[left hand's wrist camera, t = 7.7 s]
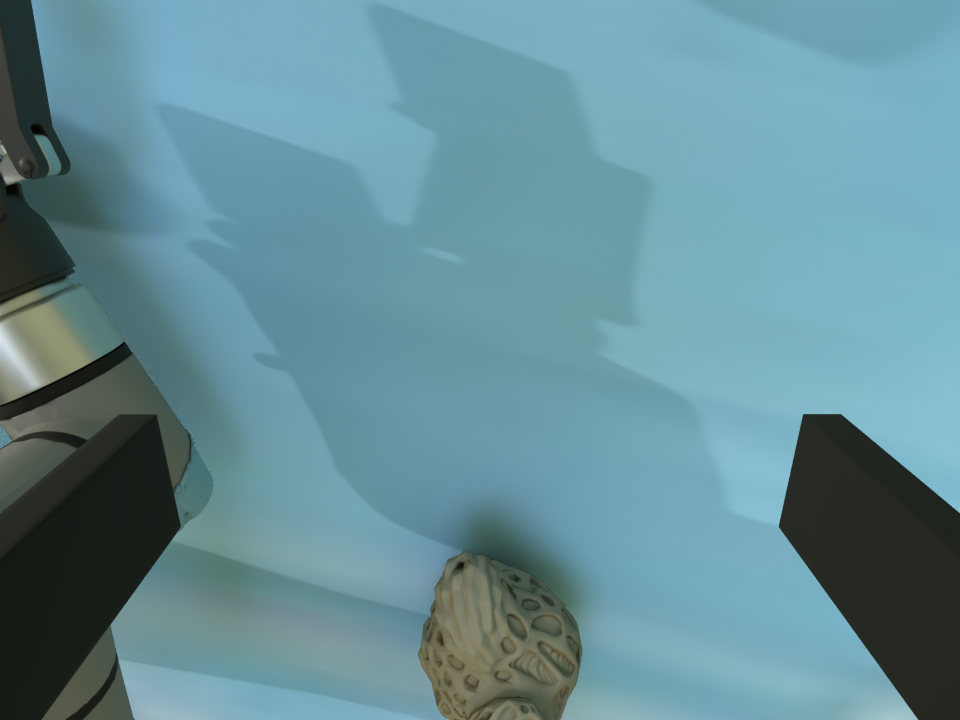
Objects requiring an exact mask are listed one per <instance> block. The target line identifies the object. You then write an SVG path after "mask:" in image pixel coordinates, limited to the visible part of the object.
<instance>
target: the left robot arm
mask: <svg viewBox="0 0 960 720" xmlns="http://www.w3.org/2000/svg"><path fill="white" fill-rule="evenodd" d="M180 528H181V523H180V519H179V514H178V509H177V505H176V500H175V496H174V491H173V487H172V482H171V477H170V473H169V468H168V464H167V459H166V454H165V450H164V445H163V441H162V436H161V432H160V427H159V422H158V418H157V414H119V415H118V416H116V417H115V418H114V419H113V420H112V421H110V422H109V423H108V424H107V425H106V426H104V427H103V428H102V429H101V430H100V431H98V432H97V433H96V434H95V435H94V436H92V437H91V438H90V439H89V440H88V441H86V442H85V443H84V444H83V445H82V446H80V447H79V448H78V449H77V450H76V451H74V452H73V453H72V454H71V455H70V456H68V457H67V458H66V459H65V460H64V461H62V462H61V463H60V464H59V465H58V466H56V467H55V468H54V469H53V470H52V471H50V472H49V473H48V474H47V475H46V476H44V477H43V478H42V479H41V480H40V481H38V482H37V483H36V484H35V485H34V486H32V487H31V488H30V489H29V490H28V491H26V492H25V493H24V494H23V495H22V496H20V497H19V498H18V499H17V500H16V501H14V502H13V503H12V504H11V505H10V506H8V507H7V508H6V509H5V510H4V511H2V512H1V513H0V720H42V719H43V717H44V716H45V714H46V713H47V712H48V710H49V709H50V707H51V706H52V705H53V703H54V702H55V701H56V699H57V698H58V696H59V695H60V694H61V692H62V691H63V690H64V688H65V687H66V685H67V684H68V683H69V681H70V680H71V678H72V677H73V676H74V674H75V673H76V672H77V670H78V669H79V667H80V666H81V665H82V663H83V662H84V660H85V659H86V658H87V656H88V655H89V654H90V652H91V651H92V649H93V648H94V647H95V645H96V644H97V642H98V641H99V640H100V638H101V637H102V636H103V634H104V633H105V631H106V630H107V629H108V627H109V626H110V625H111V623H112V622H113V620H114V619H115V618H116V616H117V615H118V613H119V612H120V611H121V609H122V608H123V607H124V605H125V604H126V602H127V601H128V600H129V598H130V597H131V595H132V594H133V593H134V591H135V590H136V589H137V587H138V586H139V584H140V583H141V582H142V580H143V579H144V577H145V576H146V575H147V573H148V572H149V571H150V569H151V568H152V566H153V565H154V564H155V562H156V561H157V560H158V558H159V557H160V555H161V554H162V553H163V551H164V550H165V548H166V547H167V546H168V544H169V543H170V542H171V540H172V539H173V537H174V536H175V535H176V533H177V532H178V530H179V529H180ZM779 528H780V529H781V530H782V532H783V533H784V535H785V536H786V537H787V539H788V540H789V542H790V543H791V544H792V546H793V547H794V548H795V550H796V551H797V553H798V554H799V555H800V557H801V558H802V560H803V561H804V562H805V564H806V565H807V566H808V568H809V569H810V571H811V572H812V573H813V575H814V576H815V577H816V579H817V580H818V582H819V583H820V584H821V586H822V587H823V589H824V590H825V591H826V593H827V594H828V595H829V597H830V598H831V600H832V601H833V602H834V604H835V605H836V607H837V608H838V609H839V611H840V612H841V613H842V615H843V616H844V618H845V619H846V620H847V622H848V623H849V625H850V626H851V627H852V629H853V630H854V631H855V633H856V634H857V636H858V637H859V638H860V640H861V641H862V642H863V644H864V645H865V647H866V648H867V649H868V651H869V652H870V654H871V655H872V656H873V658H874V659H875V660H876V662H877V663H878V665H879V666H880V667H881V669H882V670H883V672H884V673H885V674H886V676H887V677H888V678H889V680H890V681H891V683H892V684H893V685H894V687H895V688H896V690H897V691H898V692H899V694H900V695H901V696H902V698H903V699H904V701H905V702H906V703H907V705H908V706H909V707H910V709H911V710H912V712H913V713H914V714H915V716H916V717H917V719H918V720H960V513H959V512H958V511H956V510H955V509H954V508H953V507H952V506H950V505H949V504H948V503H947V502H946V501H944V500H943V499H942V498H941V497H940V496H938V495H937V494H936V493H935V492H934V491H932V490H931V489H930V488H929V487H928V486H926V485H925V484H924V483H923V482H922V481H920V480H919V479H918V478H917V477H916V476H914V475H913V474H912V473H911V472H910V471H908V470H907V469H906V468H905V467H904V466H902V465H901V464H900V463H899V462H898V461H896V460H895V459H894V458H893V457H892V456H890V455H889V454H888V453H887V452H886V451H884V450H883V449H882V448H881V447H880V446H878V445H877V444H876V443H875V442H874V441H872V440H871V439H870V438H869V437H868V436H866V435H865V434H864V433H863V432H862V431H860V430H859V429H858V428H857V427H856V426H854V425H853V424H852V423H851V422H850V421H848V420H847V419H846V418H845V417H844V416H842V415H841V414H803V418H802V422H801V427H800V431H799V436H798V441H797V445H796V450H795V454H794V459H793V464H792V468H791V473H790V477H789V482H788V487H787V491H786V496H785V500H784V505H783V509H782V514H781V519H780V523H779Z"/></svg>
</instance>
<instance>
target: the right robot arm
mask: <svg viewBox="0 0 960 720" xmlns="http://www.w3.org/2000/svg"><path fill="white" fill-rule="evenodd" d="M0 140H1V142H0V156H2V159H0V425H1V426H2V427H3V429H4V430H5V432H6V433H7V434H8V436H9V437H10V438H11V440H12V441H11V442H10V443H9V444H7V445H6V446H4V447H3V448H1V449H0V513H1V512H2V511H4V510H5V509H6V508H7V507H8V506H10V505H11V504H12V503H13V502H14V501H16V500H17V499H18V498H19V497H20V496H22V495H23V494H24V493H25V492H26V491H28V490H29V489H30V488H31V487H32V486H34V485H35V484H36V483H37V482H38V481H40V480H41V479H42V478H43V477H44V476H46V475H47V474H48V473H49V472H50V471H52V470H53V469H54V468H55V467H56V466H58V465H59V464H60V463H61V462H62V461H64V460H65V459H66V458H67V457H68V456H70V455H71V454H72V453H73V452H74V451H76V450H77V449H78V448H79V447H80V446H82V445H83V444H84V443H85V442H86V441H88V440H89V439H90V438H91V437H92V436H94V435H95V434H96V433H97V432H98V431H100V430H101V429H102V428H103V427H104V426H106V425H107V424H108V423H109V422H110V421H112V420H113V419H114V418H115V417H116V416H118V415H119V414H157V418H158V422H159V427H160V432H161V436H162V441H163V445H164V450H165V454H166V459H167V464H168V468H169V473H170V477H171V482H172V487H173V491H174V496H175V500H176V505H177V509H178V514H179V519H180V523H181V528H180V529H179V530H178V532H179V531H180V530H182V529H183V527H184V525H185V524H186V523H187V522H188V521H189V520H191V519H193V518H194V517H196V516H197V515H198V514H199V513H200V512H201V511H202V510H203V508H204V507H205V506H206V504H207V503H208V501H209V499H210V497H211V495H212V490H213V479H212V476H211V474H210V472H209V471H208V469H207V467H206V466H205V464H204V462H203V460H202V459H201V457H200V455H199V454H198V452H197V450H196V449H195V447H194V443H195V442H194V441H193V439H192V436H191V434H190V433H189V432H188V431H187V430H186V429H184V427H183V426H182V424H181V423H180V421H179V420H178V418H177V417H176V415H175V414H174V412H173V411H172V410H171V408H170V407H169V405H168V404H167V402H166V401H165V399H164V398H163V396H162V395H161V393H160V392H159V390H158V389H157V388H156V386H155V385H154V383H153V382H152V380H151V379H150V377H149V376H148V374H147V373H146V371H145V370H144V369H143V367H142V366H141V364H140V363H139V361H138V360H137V358H136V357H135V355H134V354H133V352H131V351H130V349H129V347H128V346H127V344H126V343H125V342H124V339H123V337H122V336H121V334H120V333H119V331H118V330H117V328H116V327H115V325H114V324H113V322H112V321H111V319H110V318H109V316H108V315H107V313H106V312H105V310H104V309H103V307H102V306H101V304H100V303H99V301H98V300H97V298H96V297H95V295H94V294H93V292H92V291H91V289H90V288H89V286H88V285H86V284H83V283H79V284H76V285H74V284H73V283H72V281H71V280H70V278H69V277H67V276H69V275H71V274H73V273H74V272H75V271H74V269H73V268H72V267H74V266H76V265H75V264H74V262H73V261H72V259H71V258H70V256H69V255H68V253H67V252H66V250H65V249H64V247H63V246H62V244H61V242H60V241H59V239H58V238H57V236H56V235H55V233H54V232H53V230H52V229H51V227H50V226H49V224H48V223H47V221H46V220H45V219H44V218H43V217H42V216H40V215H39V214H37V213H36V212H35V211H34V210H33V209H32V208H30V207H29V205H28V204H27V203H26V201H25V199H24V196H23V193H22V188H21V183H23V182H26V181H30V180H33V179H37V178H44V177H51V176H57V175H64V174H66V173H68V172H69V170H70V161H69V159H68V157H67V155H66V153H65V151H64V149H63V147H62V145H61V143H60V141H59V139H58V137H57V135H56V133H55V131H54V129H53V127H52V121H51V115H50V110H49V104H48V98H47V92H46V86H45V80H44V74H43V68H42V63H41V57H40V51H39V45H38V39H37V33H36V27H35V21H34V16H33V10H32V4H31V0H0ZM178 532H177V533H178ZM42 720H135V719H134V718H133V715H132V711H131V707H130V703H129V699H128V696H127V692H126V688H125V684H124V680H123V676H122V673H121V669H120V665H119V661H118V657H117V653H116V648H115V643H114V639H113V635H112V631H111V626H109V627H108V629H107V630H106V631H105V633H104V634H103V636H102V637H101V638H100V640H99V641H98V642H97V644H96V645H95V647H94V648H93V649H92V651H91V652H90V654H89V655H88V656H87V658H86V659H85V660H84V662H83V663H82V665H81V666H80V667H79V669H78V670H77V672H76V673H75V674H74V676H73V677H72V678H71V680H70V681H69V683H68V684H67V685H66V687H65V688H64V690H63V691H62V692H61V694H60V695H59V696H58V698H57V699H56V701H55V702H54V703H53V705H52V706H51V707H50V709H49V710H48V712H47V713H46V714H45V716H44V717H43V719H42Z"/></svg>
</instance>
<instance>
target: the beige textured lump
mask: <svg viewBox="0 0 960 720" xmlns="http://www.w3.org/2000/svg"><path fill="white" fill-rule="evenodd" d="M435 597H436V600H435V601H434V602H433V604H432V607H431V609H430V611H431V617H430V618H428V619H427V621H426V622H425V623H424V627H423V634H422V644H421V648H420V651H419V653H418V656H419V659H420V662H421V665H422V667H423V669H424V671H425V672H426V674H427V675H428V677H429V679H430V681H431V683H432V687H433V691H434V696H435V700H436V704H437V708H438V709H439V711H440V713H441V714H442V715H443V716H444V717H446V718H447V719H449V720H560V719H561V717H562V714H563V711H564V708H565V706H566V702H567V699H568V698H569V696H570V694H571V692H572V690H573V689H574V687H575V685H576V683H577V678H578V673H579V668H580V662H581V655H582V646H581V641H580V635H579V630H578V626H577V623H576V621H575V619H574V617H573V616H572V615H571V614H570V612H569V611H568V610H567V609H566V608H565V607H564V606H565V604H564V603H563V602H562V601H561V600H560V599H559V598H558V597H557V596H555V595H554V593H552V592H551V591H550V590H549V589H548V588H547V587H546V586H545V584H544V583H543V582H542V581H541V580H539V579H537V578H535V577H533V576H532V575H530V574H528V573H526V572H523V571H522V570H520V569H518V568H514V567H510V566H507V565H505V564H503V563H500V562H498V561H496V560H492V561H491V560H490V559H488V558H487V557H485V556H484V555H477V554H472V553H470V552H468V551H466V550H465V551H463V552H462V553H461V554H460V555H459V556H456V557H454V558H451V559H448V561H447V564H445V569H444V572H443V575H442V577H441V579H440V580H439V582H438V583H437V585H436V587H435Z"/></svg>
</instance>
